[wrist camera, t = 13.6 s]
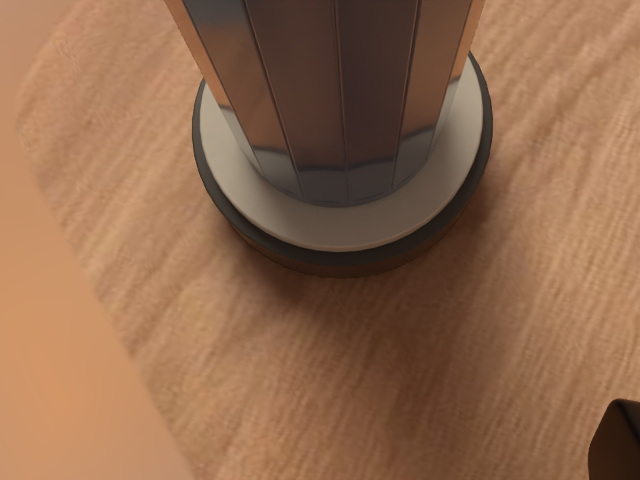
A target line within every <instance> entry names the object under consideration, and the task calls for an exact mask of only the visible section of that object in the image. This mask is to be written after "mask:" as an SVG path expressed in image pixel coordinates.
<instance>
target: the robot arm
mask: <svg viewBox="0 0 640 480" xmlns="http://www.w3.org/2000/svg"><path fill="white" fill-rule="evenodd" d="M588 471H589V480H640V402H637V401H631V400H626V399H615V400H613V401H612V402H611V403H610V404H609V406H608V407H607V409H606V411H605V413H604V416H603V418H602V420H601V422H600V424H599V426H598V428H597V430H596V432H595V435H594V437H593V439H592V441H591V443H590V447H589V452H588Z"/></svg>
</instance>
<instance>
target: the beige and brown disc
mask: <svg viewBox="0 0 640 480" xmlns="http://www.w3.org/2000/svg"><path fill="white" fill-rule="evenodd" d="M492 136H493V114H492V106H491V99H490V95H489V91H488V88H487V84H486V81H485V79H484V76H483V74H482V71H481V69H480V67H479V65H478V63H477V61H476V60H475V58H474V56H473V55H472V53H471V51H470V50H469V53H468V56H467V59H466V62H465V66H464V69H463V72H462V75H461V78H460V81H459V84H458V87H457V90H456V94H455V97H454V100H453V103H452V106H451V109H450V112H449V115H448V118H447V122H446V125H445V128H444V130H443V131H442V133H441V135H440V137H439V140H438V143H437V145H436V147H435V149H434V152H433V153H432V155H431V157H430V158H429V160H428V161H427V163H426V164H425V165H424V167H423V168H422V169H421V170H420V171H419V173H418V174H417V175H416V176H415V177H414V178H412V179H411V180H410V181H409V182H408V183H407V184H406V185H404V186H403V187H401V188H400V189H398V190H397V191H395V192H394V193H392V194H390V195H388V196H386V197H384V198H382V199H379V200H376V201H373V202H371V203H367V204H363V205H358V206H352V207H342V208H339V207H323V206H316V205H311V204H308V203H304V202H301V201H298V200H296V199H294V198H291V197H289V196H287V195H285V194H283V193H282V192H280V191H278V190H277V189H275V188H274V187H273V186H272V185H270V184H269V183H268V182H266V181H265V180H264V179H263V178H262V177H261V176H260V174H259V173H258V172H257V171H256V170H255V169H254V167H253V166H252V164H251V163H250V162H249V160H248V158H247V156H246V155H245V154H244V153H243V152H242V150H241V149H240V147H239V145H238V143H237V141H236V139H235V137H234V135H233V133H232V131H231V130H230V128H229V126H228V124H227V122H226V120H225V118H224V116H223V114H222V112H221V110H220V108H219V106H218V104H217V102H216V100H215V98H214V96H213V95H212V93H211V91H210V89H209V87H208V85H207V83H206V81H205V79H204V77H203V79H202V81H201V84H200V86H199V90H198V93H197V97H196V100H195V105H194V111H193V118H192V142H193V150H194V157H195V160H196V164H197V167H198V171H199V174H200V177H201V179H202V181H203V183H204V186H205V188H206V190H207V192H208V194H209V195H210V197H211V199H212V200H213V202H214V203H215V205H216V207H217V208H218V209H219V210H220V212H221V213H222V214H223V215H224V216H225V218H226V219H227V220H228V221H229V223H230V224H231V225H232V226H233V227H234V229H235V230H236V231H237V232H238V233H239V235H240V236H241V237H242V238H243V239H244V240H245V241H246V242H248V243H249V244H250V245H251V246H252V247H253V248H254V249H256V250H257V251H258V252H260V253H261V254H263V255H264V256H266V257H267V258H269V259H270V260H272V261H274V262H276V263H278V264H280V265H282V266H284V267H287V268H289V269H292V270H295V271H298V272H301V273H304V274H309V275H314V276H319V277H328V278H358V277H364V276H369V275H375V274H379V273H382V272H385V271H388V270H391V269H394V268H397V267H399V266H401V265H403V264H405V263H407V262H409V261H412V260H413V259H415V258H416V257H418V256H419V255H421V254H423V253H424V252H426V251H427V250H429V249H430V248H431V247H432V246H433V245H434V244H436V243H437V242H438V241H439V240H440V239H441V238H442V237H443V236H444V235H445V234H446V233H447V232H448V231H449V230H450V229H451V227H452V226H453V225H454V224H455V222H456V221H457V219H458V218H459V216H460V215H461V214H462V212H463V211H464V209H465V207H466V206H467V204H468V202H469V200H470V199H471V197H472V195H473V194H474V192H475V190H476V188H477V186H478V184H479V182H480V180H481V178H482V176H483V173H484V170H485V167H486V164H487V161H488V158H489V154H490V148H491V143H492Z"/></svg>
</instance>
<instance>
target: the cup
mask: <svg viewBox="0 0 640 480" xmlns="http://www.w3.org/2000/svg"><path fill="white" fill-rule="evenodd" d="M164 1H165V3H166V5H167V7H168V9H169V11H170V13H171V15H172V17H173V19H174V21H175V23H176V24H177V26H178V28H179V30H180V32H181V34H182V36H183V38H184V40H185V42H186V44H187V46H188V48H189V50H190V52H191V54H192V56H193V58H194V60H195V61H196V63H197V65H198V67H199V69H200V71H201V73H202V75H203V77H204V79H205V81H206V83H207V85H208V87H209V89H210V91H211V93H212V95H213V96H214V98H215V100H216V102H217V104H218V106H219V108H220V110H221V112H222V114H223V116H224V118H225V120H226V122H227V124H228V126H229V128H230V130H231V131H232V133H233V135H234V137H235V139H236V141H237V143H238V145H239V147H240V149H241V150H242V152H243V153H244V154H245V155H246V156H247V158H248V160H249V162H250V163H251V164H252V166H253V167H254V169H255V170H256V171H257V172H258V173H259V174H260V176H261V177H262V178H263V179H264V180H265V181H266V182H268V183H269V184H270V185H272V186H273V187H274V188H275V189H277V190H278V191H280V192H282V193H283V194H285V195H287V196H289V197H291V198H294V199H296V200H298V201H301V202H304V203H308V204H311V205H316V206H323V207H339V208H342V207H352V206H358V205H363V204H367V203H371V202H373V201H376V200H379V199H382V198H384V197H386V196H388V195H390V194H392V193H394V192H395V191H397V190H398V189H400V188H401V187H403V186H404V185H406V184H407V183H408V182H409V181H410V180H411V179H412V178H414V177H415V176H416V175H417V174H418V173H419V171H420V170H421V169H422V168H423V167H424V165H425V164H426V163H427V161H428V160H429V158H430V157H431V155H432V153H433V152H434V149H435V147H436V145H437V143H438V140H439V137H440V135H441V133H442V131H443V130H444V128H445V125H446V122H447V118H448V115H449V112H450V109H451V106H452V103H453V100H454V97H455V94H456V90H457V87H458V84H459V81H460V78H461V75H462V72H463V69H464V66H465V62H466V59H467V56H468V53H469V50H470V47H471V44H472V41H473V38H474V34H475V31H476V28H477V25H478V22H479V19H480V16H481V13H482V10H483V6H484V3H485V0H164Z"/></svg>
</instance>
